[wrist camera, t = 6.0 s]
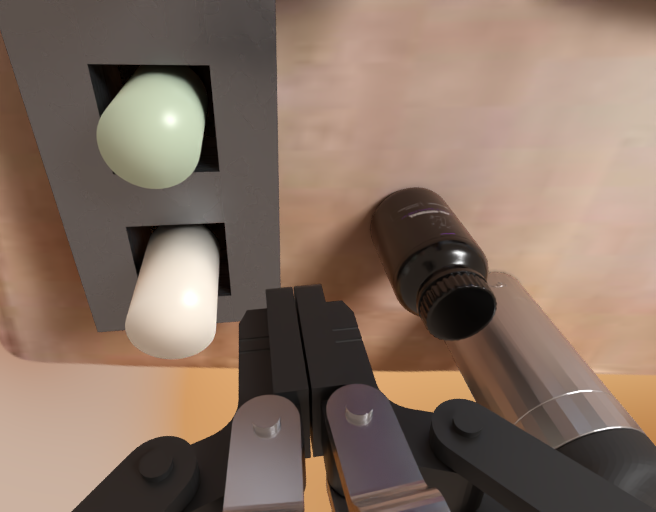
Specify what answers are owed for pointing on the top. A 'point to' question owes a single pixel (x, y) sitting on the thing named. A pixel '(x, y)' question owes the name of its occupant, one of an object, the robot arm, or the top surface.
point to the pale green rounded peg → (155, 126)
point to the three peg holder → (216, 152)
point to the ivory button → (176, 293)
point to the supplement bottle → (433, 264)
